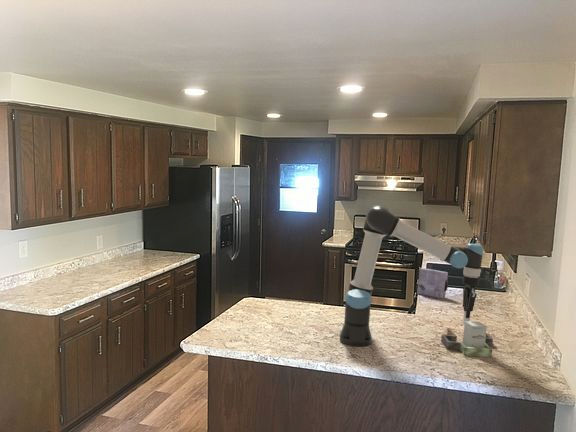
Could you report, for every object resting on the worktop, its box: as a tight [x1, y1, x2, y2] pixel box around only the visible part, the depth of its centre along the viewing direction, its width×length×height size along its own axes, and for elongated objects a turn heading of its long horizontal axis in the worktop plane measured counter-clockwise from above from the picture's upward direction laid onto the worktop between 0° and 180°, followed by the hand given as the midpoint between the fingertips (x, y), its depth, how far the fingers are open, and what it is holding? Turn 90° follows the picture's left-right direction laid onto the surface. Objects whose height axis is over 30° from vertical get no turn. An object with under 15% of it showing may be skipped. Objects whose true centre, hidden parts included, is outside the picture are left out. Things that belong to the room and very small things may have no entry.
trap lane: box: [440, 328, 494, 358], centre depth 229 cm, size 24×27×4 cm
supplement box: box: [462, 320, 487, 348], centre depth 223 cm, size 7×7×13 cm
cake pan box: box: [416, 267, 449, 299], centre depth 323 cm, size 19×5×18 cm, turn 58°
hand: (465, 323), depth 232 cm, fingers closed
